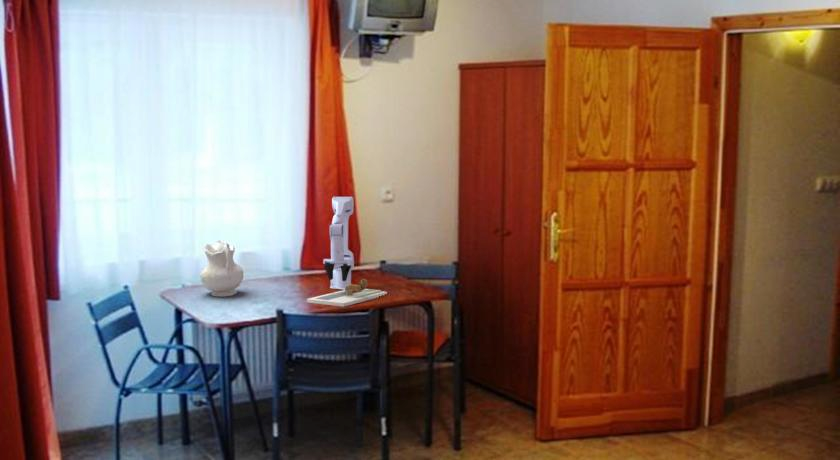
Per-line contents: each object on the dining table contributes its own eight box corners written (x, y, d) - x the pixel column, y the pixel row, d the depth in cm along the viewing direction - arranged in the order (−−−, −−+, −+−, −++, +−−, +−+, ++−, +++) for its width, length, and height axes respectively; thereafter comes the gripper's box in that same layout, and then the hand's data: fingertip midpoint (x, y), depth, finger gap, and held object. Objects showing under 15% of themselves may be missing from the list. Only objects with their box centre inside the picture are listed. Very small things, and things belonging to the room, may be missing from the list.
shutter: (345, 296, 358) (345, 291, 358) (370, 290, 376) (370, 285, 375) (356, 298, 355) (356, 292, 355) (381, 291, 373) (381, 286, 372)
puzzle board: (306, 302, 353) (306, 298, 353) (354, 290, 384) (354, 287, 384) (343, 306, 343) (343, 303, 343) (389, 294, 374) (389, 291, 374)
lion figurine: (365, 293, 376) (365, 278, 375) (368, 295, 372) (368, 279, 371) (341, 295, 371) (341, 280, 370) (344, 297, 367) (344, 281, 366)
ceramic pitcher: (255, 295, 370) (254, 242, 368) (218, 301, 356) (217, 245, 354) (228, 290, 385) (227, 238, 383) (192, 295, 371) (191, 242, 369)
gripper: (319, 250, 361) (319, 280, 362) (345, 252, 354) (345, 282, 355) (328, 248, 367) (328, 278, 368) (354, 250, 360) (354, 280, 361)
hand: (337, 280), depth 362 cm, fingers open, 7 cm apart
